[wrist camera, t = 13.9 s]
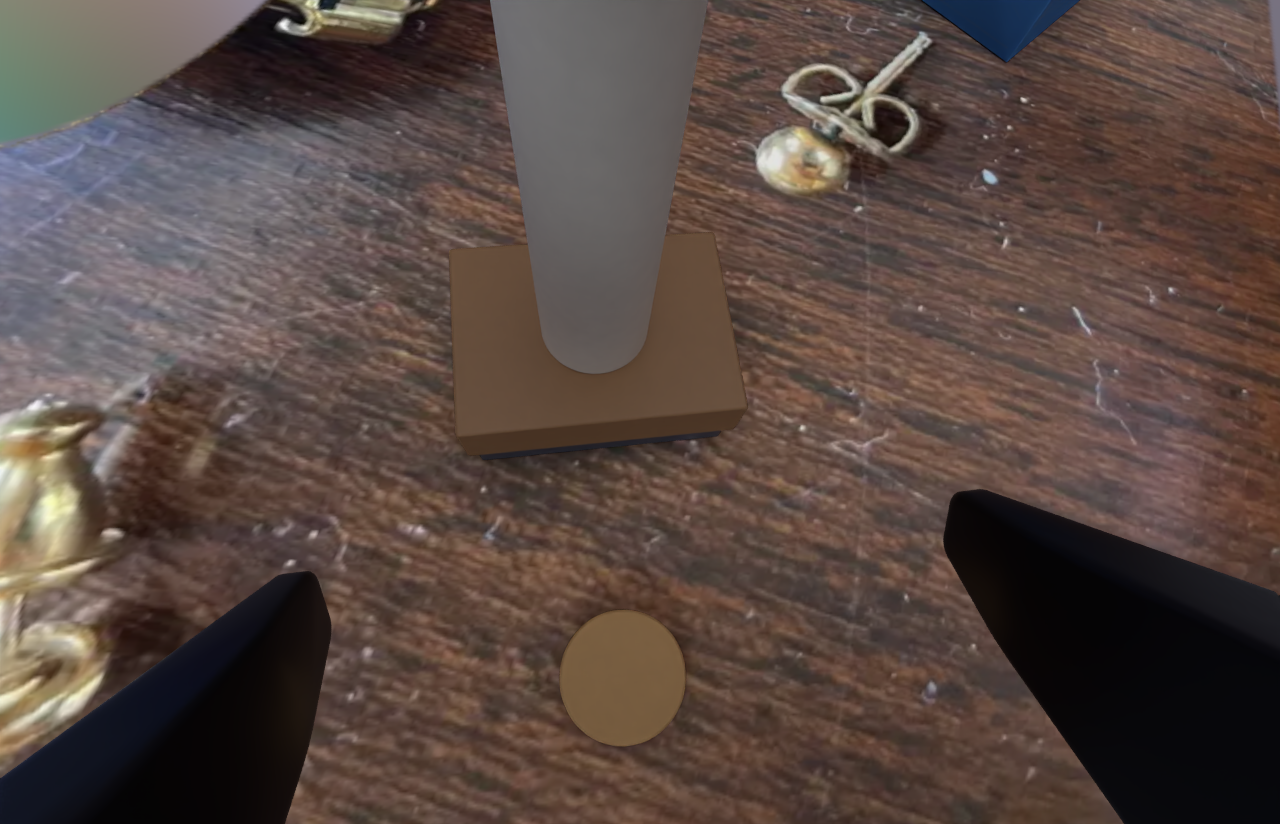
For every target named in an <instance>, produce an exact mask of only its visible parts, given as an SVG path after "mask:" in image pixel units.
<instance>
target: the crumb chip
mask: <svg viewBox="0 0 1280 824" xmlns="http://www.w3.org/2000/svg"><path fill="white" fill-rule="evenodd" d="M559 683H560V691H561V697H562V700H563V703H564V706H565V708H566V710H567V712H568V714H569V716H570V717H571V719H572V720H573V722H574V723H575V724H576V725H577V727H578V728H580V729H581V730H582V731H583V732H584V733H585V734H587V735H588V736H589V737H591V738H593V739H595V740H597V741H598V742H601V743H604V744H607V745H612V746H632V745H636V744H640V743H643V742H645V741H648V740H650V739H651V738H653V737H655V736H656V735H658V734H659V733H660V732H661V731H663V730H664V729H665V728H666V727H667V726H668V725H669V724H670V722H671V721H672V719H673V718H674V717H675V715H676V713H677V711H678V710H679V708H680V705H681V703H682V700H683V696H684V692H685V686H686V668H685V662H684V658H683V654H682V652H681V649H680V647H679V645H678V643H677V641H676V639H675V638H674V636H673V635H672V633H671V632H670V631H669V630H668V629H667V628H666V627H665V626H664V625H663V624H662V623H661V622H659V621H658V620H656V619H655V618H653V617H651V616H649V615H647V614H645V613H642V612H639V611H635V610H626V609H620V610H612V611H608V612H605V613H602V614H599V615H597V616H595V617H594V618H592V619H590V620H589V621H587V622H586V623H585V624H584V625H583V626H581V627H580V628H579V629H578V630H577V632H576V633H575V634H574V635H573V637H572V638H571V640H570V641H569V643H568V645H567V647H566V649H565V651H564V654H563V657H562V661H561V666H560V674H559Z"/></svg>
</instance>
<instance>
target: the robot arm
mask: <svg viewBox="0 0 1280 824" xmlns="http://www.w3.org/2000/svg"><path fill="white" fill-rule="evenodd" d="M943 542H944V549H945V552H946V554H947V557H948V558H949V560H950V562H951V564H952V565H953V567H954V569H955V571H956V572H957V574H958V576H959V578H960V580H961V581H962V583H963V585H964V587H965V588H966V590H967V592H968V594H969V595H970V597H971V599H972V601H973V602H974V604H975V606H976V608H977V609H978V611H979V613H980V615H981V617H982V618H983V620H984V622H985V624H986V625H987V627H988V629H989V630H990V632H991V634H992V635H993V637H994V639H995V640H996V642H997V644H998V645H999V647H1000V648H1001V650H1002V651H1003V653H1004V654H1005V655H1006V657H1007V658H1008V660H1009V661H1010V663H1011V664H1012V666H1013V667H1014V668H1015V670H1016V671H1017V673H1018V674H1019V675H1020V677H1021V678H1022V680H1023V681H1024V683H1025V684H1026V685H1027V687H1028V688H1029V690H1030V691H1031V692H1032V694H1033V695H1034V697H1035V698H1036V700H1037V701H1038V702H1039V704H1040V705H1041V707H1042V708H1043V709H1044V711H1045V712H1046V714H1047V715H1048V716H1049V718H1050V719H1051V721H1052V722H1053V724H1054V725H1055V726H1056V728H1057V729H1058V731H1059V732H1060V733H1061V735H1062V736H1063V738H1064V739H1065V741H1066V742H1067V743H1068V745H1069V746H1070V748H1071V749H1072V750H1073V752H1074V753H1075V755H1076V756H1077V758H1078V759H1079V760H1080V762H1081V763H1082V765H1083V766H1084V767H1085V769H1086V770H1087V772H1088V773H1089V775H1090V776H1091V777H1092V779H1093V780H1094V782H1095V783H1096V784H1097V786H1098V787H1099V789H1100V790H1101V792H1102V793H1103V794H1104V796H1105V797H1106V799H1107V800H1108V801H1109V803H1110V804H1111V806H1112V807H1113V808H1114V810H1115V811H1116V813H1117V814H1118V816H1119V817H1120V818H1121V820H1122V821H1123V823H1124V824H1280V595H1279V596H1278V595H1277V594H1276V593H1275V592H1274V591H1271V590H1269V589H1266V588H1263V587H1260V586H1257V585H1254V584H1252V583H1249V582H1246V581H1243V580H1240V579H1237V578H1235V577H1232V576H1229V575H1226V574H1223V573H1220V572H1217V571H1215V570H1212V569H1209V568H1206V567H1203V566H1200V565H1198V564H1195V563H1192V562H1189V561H1186V560H1183V559H1181V558H1178V557H1175V556H1172V555H1169V554H1166V553H1163V552H1161V551H1158V550H1155V549H1152V548H1149V547H1146V546H1144V545H1141V544H1138V543H1135V542H1132V541H1129V540H1127V539H1124V538H1121V537H1118V536H1115V535H1112V534H1109V533H1107V532H1104V531H1101V530H1098V529H1095V528H1092V527H1090V526H1087V525H1084V524H1081V523H1078V522H1075V521H1073V520H1070V519H1067V518H1064V517H1061V516H1058V515H1055V514H1053V513H1050V512H1047V511H1044V510H1041V509H1038V508H1036V507H1033V506H1030V505H1027V504H1024V503H1021V502H1019V501H1016V500H1013V499H1010V498H1007V497H1004V496H1001V495H999V494H996V493H993V492H990V491H987V490H983V489H977V490H969V491H961V492H957V493H956V494H954V495H953V497H952V498H951V501H950V505H949V510H948V516H947V521H946V526H945V532H944V538H943ZM330 639H331V619H330V616H329V613H328V609H327V606H326V603H325V600H324V597H323V594H322V591H321V587H320V584H319V581H318V579H317V577H316V576H315V574H314V573H312V572H310V571H304V572H296V573H287V574H281V575H278V576H277V577H275V578H274V579H272V580H271V581H270V582H268V583H267V584H265V585H264V586H263V587H261V588H260V589H259V590H257V591H256V592H255V593H253V594H252V595H250V596H249V597H248V598H246V599H245V600H244V601H242V602H241V603H240V604H238V605H237V606H235V607H234V608H233V609H231V610H230V611H229V612H227V613H226V614H224V615H223V616H222V617H220V618H219V619H218V620H216V621H215V622H214V623H212V624H211V625H209V626H208V627H207V628H205V629H204V630H203V631H201V632H200V633H198V634H197V635H196V636H194V637H193V638H192V639H190V640H189V641H188V642H186V643H185V644H183V645H182V646H181V647H179V648H178V649H177V650H175V651H174V652H172V653H171V654H170V655H168V656H167V657H166V658H164V659H163V660H162V661H160V662H159V663H157V664H156V665H155V666H153V667H152V668H151V669H149V670H148V671H147V672H145V673H144V674H142V675H141V676H140V677H138V678H137V679H136V680H134V681H133V682H131V683H130V684H129V685H127V686H126V687H125V688H123V689H122V690H121V691H119V692H118V693H116V694H115V695H114V696H112V697H111V698H110V699H108V700H107V701H105V702H104V703H103V704H101V705H100V706H99V707H97V708H96V709H95V710H93V711H92V712H90V713H89V714H88V715H86V716H85V717H84V718H82V719H81V720H79V721H78V722H77V723H75V724H74V725H73V726H71V727H70V728H69V729H67V730H66V731H64V732H63V733H62V734H60V735H59V736H58V737H56V738H55V739H53V740H52V741H51V742H49V743H48V744H47V745H45V746H44V747H43V748H41V749H40V750H38V751H37V752H36V753H34V754H33V755H32V756H30V757H29V758H28V759H26V760H25V761H23V762H22V763H21V764H19V765H18V766H17V767H15V768H14V769H12V770H11V771H10V772H8V773H7V774H6V775H4V776H3V777H2V778H0V824H285V821H286V818H287V815H288V812H289V809H290V806H291V803H292V799H293V796H294V793H295V790H296V787H297V784H298V781H299V777H300V774H301V771H302V768H303V765H304V761H305V758H306V754H307V751H308V747H309V743H310V739H311V734H312V730H313V725H314V720H315V715H316V710H317V705H318V700H319V695H320V690H321V685H322V680H323V675H324V670H325V665H326V659H327V654H328V649H329V644H330Z"/></svg>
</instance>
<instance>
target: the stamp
mask: <svg viewBox="0 0 1280 824" xmlns="http://www.w3.org/2000/svg"><path fill="white" fill-rule="evenodd" d="M490 2H491V9H492V15H493V22H494V28H495V35H496V41H497V48H498V54H499V61H500V67H501V74H502V80H503V87H504V93H505V99H506V106H507V112H508V119H509V125H510V132H511V138H512V145H513V151H514V158H515V164H516V171H517V177H518V184H519V190H520V197H521V203H522V210H523V216H524V222H525V229H526V235H527V242H528V244H522V245H507V246H492V247H477V248H462V249H451V250H450V251H449V272H450V300H451V329H452V357H453V386H454V414H455V435H456V437H457V439H458V440H459V442H460V443H461V445H462V446H463V448H464V449H465V451H466V453H467V454H468V455H469V456H475V455H480V456H481V458H482V459H483V460H490V459H500V458H510V457H520V456H530V455H539V454H549V453H559V452H569V451H578V450H588V449H598V448H608V447H617V446H627V445H637V444H647V443H657V442H666V441H676V440H686V439H696V438H705V437H715V436H718V435H719V433H720V432H721V430H731V429H734V428H735V427H736V425H737V424H738V422H739V421H740V419H741V418H742V416H743V414H744V413H745V411H746V410H747V408H748V403H747V398H746V393H745V387H744V382H743V377H742V372H741V367H740V362H739V357H738V352H737V347H736V342H735V336H734V331H733V326H732V321H731V316H730V311H729V306H728V301H727V296H726V291H725V285H724V280H723V275H722V270H721V265H720V260H719V255H718V250H717V245H716V239H715V235H714V233H713V232H704V233H688V234H673V235H665V233H666V228H667V222H668V217H669V211H670V206H671V200H672V195H673V189H674V184H675V179H676V173H677V168H678V162H679V157H680V151H681V146H682V140H683V135H684V129H685V124H686V118H687V113H688V107H689V102H690V96H691V91H692V86H693V80H694V75H695V69H696V64H697V58H698V53H699V47H700V42H701V36H702V31H703V25H704V20H705V14H706V9H707V3H708V0H490Z"/></svg>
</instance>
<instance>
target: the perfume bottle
mask: <svg viewBox="0 0 1280 824" xmlns="http://www.w3.org/2000/svg"><path fill="white" fill-rule="evenodd" d="M922 1H924V2H925V3H927V4H928V5H929V6H931V7H932V8H933V9H935V10H936V11H937V12H939V13H940V14H942V15H943V16H944V17H946V18H947V19H948V20H950V21H951V22H952V23H954V24H955V25H957V26H958V27H959V28H961V29H962V30H963V31H965V32H966V33H967V34H969V35H970V36H971V37H973V38H974V39H976V40H977V41H978V42H980V43H981V44H982V45H984V46H985V47H986V48H988V49H989V50H991V51H992V52H993V53H995V54H996V55H997V56H999V57H1000V58H1001V59H1003V60H1004V61H1006V62H1008V61H1009V60H1010V59H1011V58H1012V57H1014V56H1015V55H1016V54H1017V53H1018V52H1019V51H1021V50H1022V49H1023V48H1024V47H1025V46H1026V45H1028V44H1029V43H1030V42H1031V41H1032V40H1034V39H1035V38H1036V37H1037V36H1038V35H1039V34H1041V33H1042V32H1043V31H1044V30H1045V29H1047V28H1048V27H1049V26H1050V25H1051V24H1052V23H1054V22H1055V21H1056V20H1057V19H1058V18H1060V17H1061V16H1062V15H1063V14H1064V13H1065V12H1067V11H1068V10H1069V9H1070V8H1071V7H1072V6H1074V5H1075V4H1076V3H1077V2H1078V1H1080V0H922Z"/></svg>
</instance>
